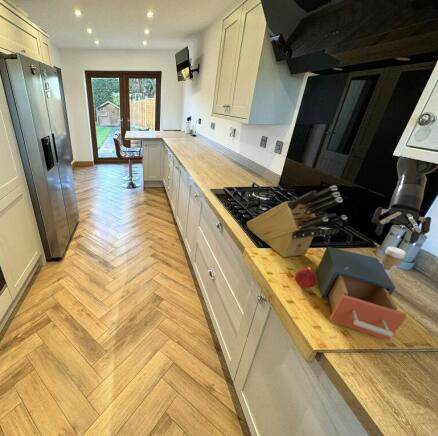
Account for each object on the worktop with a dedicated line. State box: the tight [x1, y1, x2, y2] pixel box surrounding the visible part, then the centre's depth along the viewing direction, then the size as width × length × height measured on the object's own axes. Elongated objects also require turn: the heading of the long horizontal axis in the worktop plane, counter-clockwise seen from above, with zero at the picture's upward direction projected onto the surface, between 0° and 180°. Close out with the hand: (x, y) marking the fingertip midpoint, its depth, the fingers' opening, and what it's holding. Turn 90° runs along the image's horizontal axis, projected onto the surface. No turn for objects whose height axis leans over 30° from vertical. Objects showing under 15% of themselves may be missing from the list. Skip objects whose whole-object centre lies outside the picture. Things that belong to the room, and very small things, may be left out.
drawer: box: [328, 274, 408, 342], centre depth 65 cm, size 20×13×9 cm, turn 152°
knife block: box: [246, 185, 348, 258], centre depth 95 cm, size 11×35×31 cm, turn 13°
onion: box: [294, 266, 317, 289], centre depth 77 cm, size 6×6×8 cm
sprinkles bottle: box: [379, 246, 407, 279], centre depth 80 cm, size 5×5×13 cm
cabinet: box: [315, 246, 396, 301], centre depth 76 cm, size 16×14×11 cm
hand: (394, 238), depth 82 cm, fingers open, 8 cm apart
